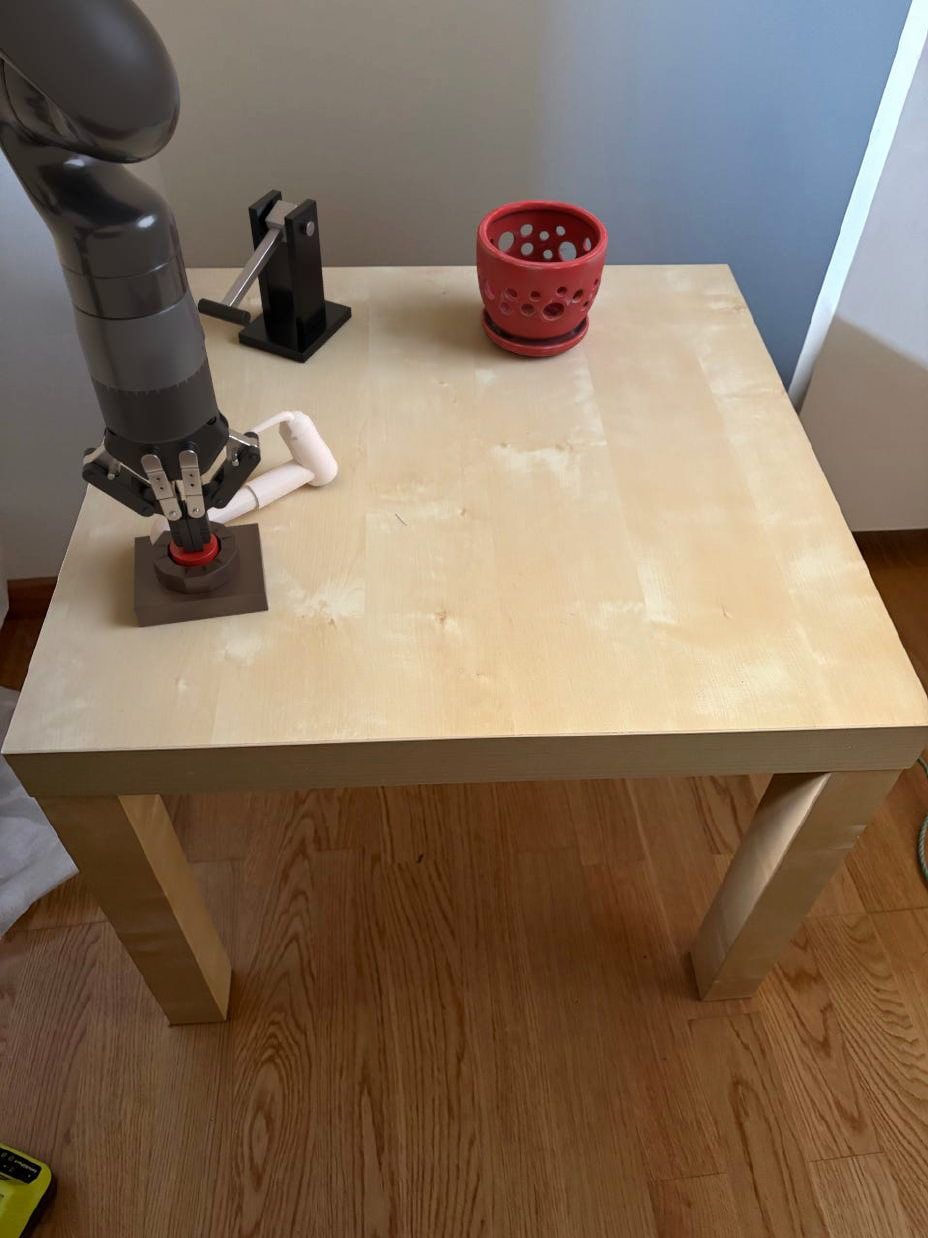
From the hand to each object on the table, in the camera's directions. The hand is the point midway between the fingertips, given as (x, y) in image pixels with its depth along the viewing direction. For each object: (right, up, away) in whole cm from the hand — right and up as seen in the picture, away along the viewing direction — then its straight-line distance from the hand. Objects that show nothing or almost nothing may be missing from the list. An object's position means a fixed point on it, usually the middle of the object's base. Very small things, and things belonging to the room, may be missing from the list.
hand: (195, 544), depth 75 cm
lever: (+1, +28, +18) cm, 33 cm away
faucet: (+2, +3, +9) cm, 10 cm away
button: (0, -1, +1) cm, 2 cm away
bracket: (+3, +25, +28) cm, 38 cm away
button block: (0, -3, +3) cm, 4 cm away
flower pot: (+28, +25, +29) cm, 48 cm away
